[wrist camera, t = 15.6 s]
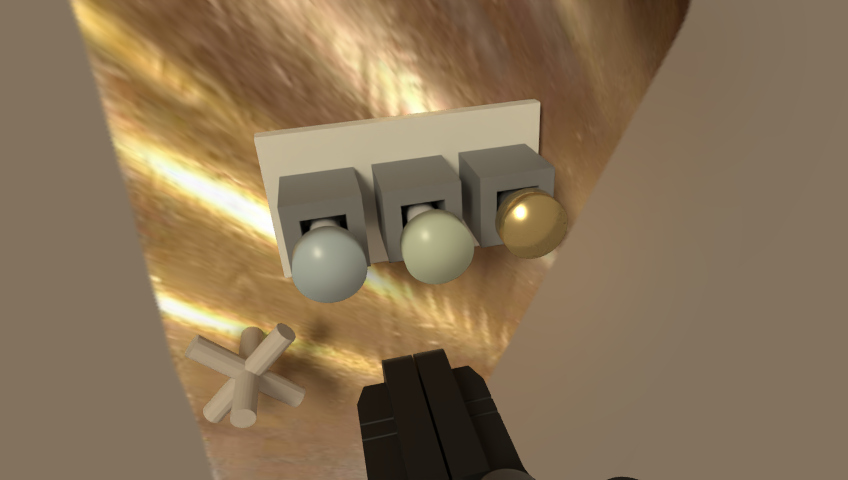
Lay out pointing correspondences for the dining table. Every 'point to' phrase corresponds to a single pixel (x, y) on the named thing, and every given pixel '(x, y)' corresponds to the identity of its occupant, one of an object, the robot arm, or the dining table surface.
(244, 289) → the dining table surface
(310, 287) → the slate plug
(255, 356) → the pipe connector
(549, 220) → the brass plug
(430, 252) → the sage plug
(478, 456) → the robot arm
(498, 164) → the socket board
